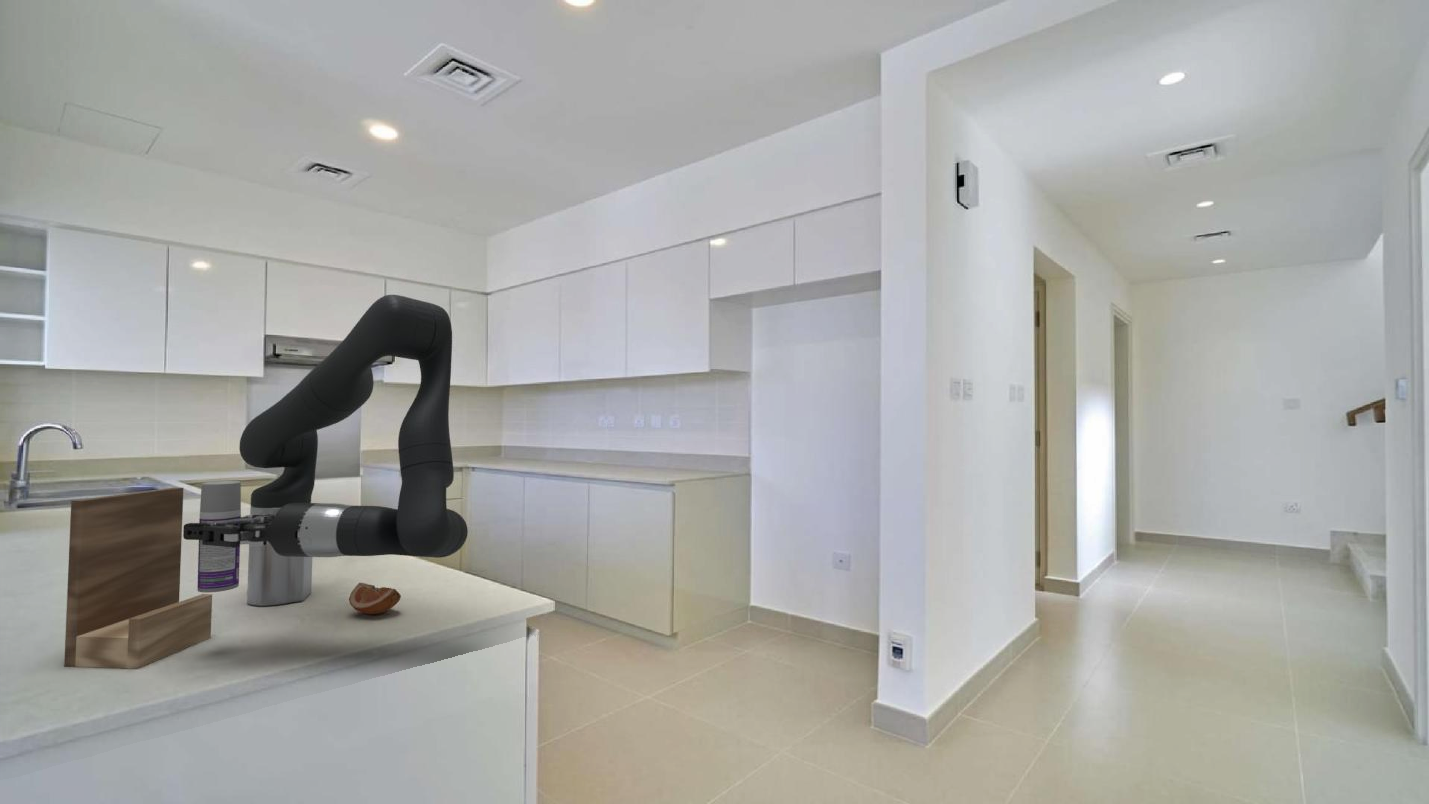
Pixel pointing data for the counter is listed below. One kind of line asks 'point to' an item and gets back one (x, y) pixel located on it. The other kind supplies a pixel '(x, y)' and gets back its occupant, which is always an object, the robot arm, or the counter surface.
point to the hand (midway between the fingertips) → (201, 527)
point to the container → (218, 561)
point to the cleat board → (129, 582)
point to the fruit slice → (373, 599)
